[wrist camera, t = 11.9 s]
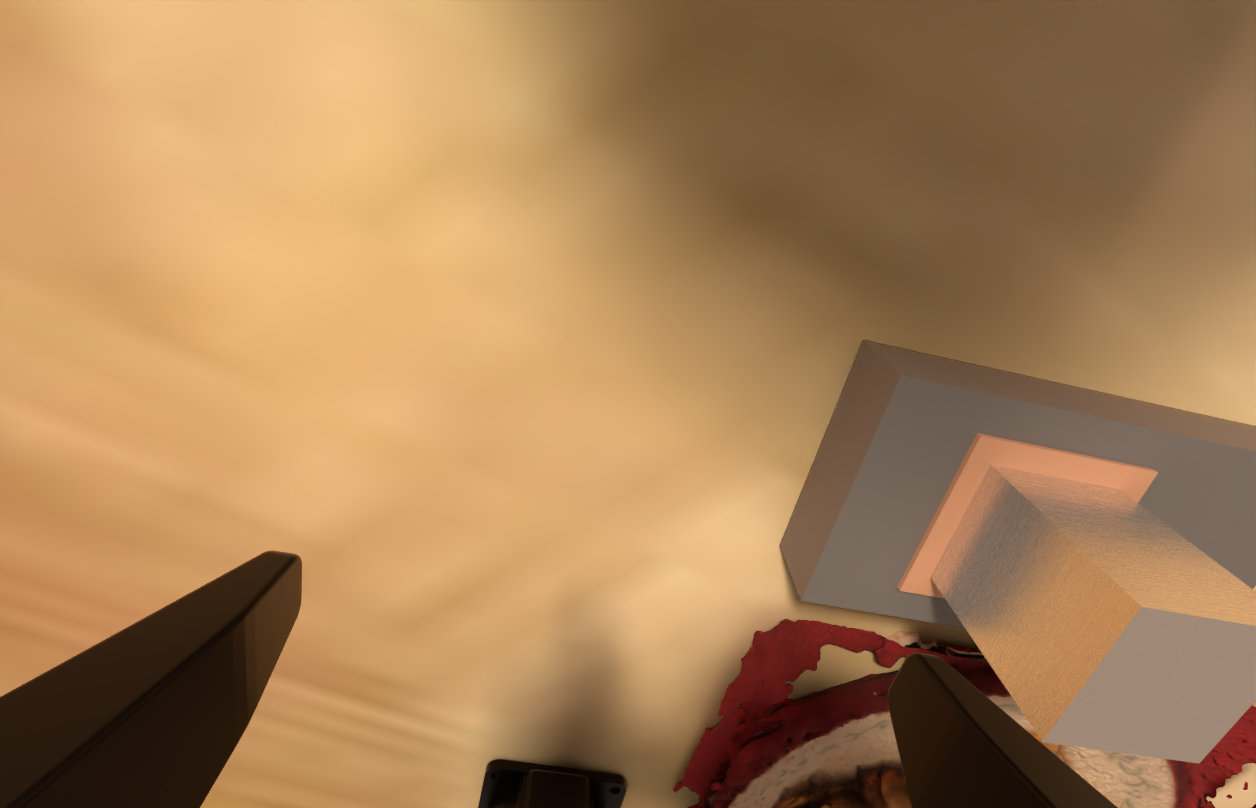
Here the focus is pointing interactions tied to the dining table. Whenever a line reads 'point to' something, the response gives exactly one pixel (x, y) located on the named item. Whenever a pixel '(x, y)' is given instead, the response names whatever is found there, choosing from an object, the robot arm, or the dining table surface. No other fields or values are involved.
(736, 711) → the plate with food
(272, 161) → the dining table surface
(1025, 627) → the aluminium block
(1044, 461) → the parts holder
